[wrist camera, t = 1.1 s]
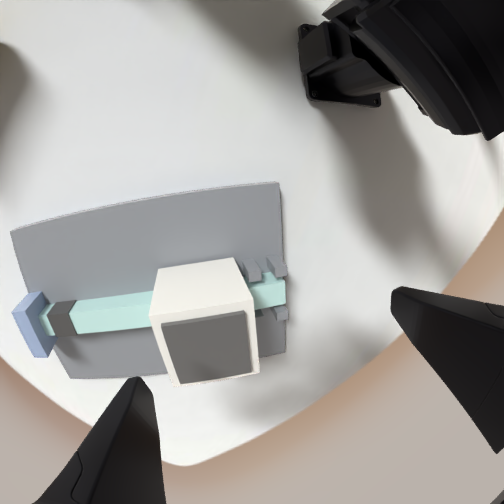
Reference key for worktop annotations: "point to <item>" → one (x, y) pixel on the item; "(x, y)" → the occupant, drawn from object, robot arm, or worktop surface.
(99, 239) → the comb board
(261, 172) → the worktop surface
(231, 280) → the sleeve
